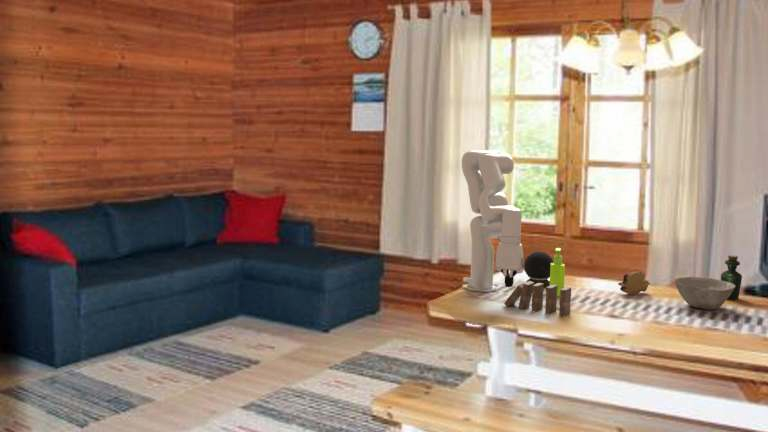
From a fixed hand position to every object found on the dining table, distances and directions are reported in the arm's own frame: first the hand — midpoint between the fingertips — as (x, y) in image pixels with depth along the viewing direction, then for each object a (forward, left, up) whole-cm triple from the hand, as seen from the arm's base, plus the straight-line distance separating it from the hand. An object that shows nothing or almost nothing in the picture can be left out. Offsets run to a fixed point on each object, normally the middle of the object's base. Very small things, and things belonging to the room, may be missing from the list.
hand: (508, 286), depth 293 cm
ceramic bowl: (+63, +45, -8) cm, 78 cm away
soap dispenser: (+9, +28, -8) cm, 30 cm away
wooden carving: (+34, +51, -8) cm, 62 cm away
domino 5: (+23, 0, -8) cm, 24 cm away
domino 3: (+12, 0, -8) cm, 14 cm away
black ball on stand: (-5, +43, -8) cm, 44 cm away
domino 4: (+17, 0, -8) cm, 19 cm away
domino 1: (0, 0, -7) cm, 7 cm away
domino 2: (+6, 0, -7) cm, 10 cm away
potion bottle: (+69, +69, -8) cm, 98 cm away
